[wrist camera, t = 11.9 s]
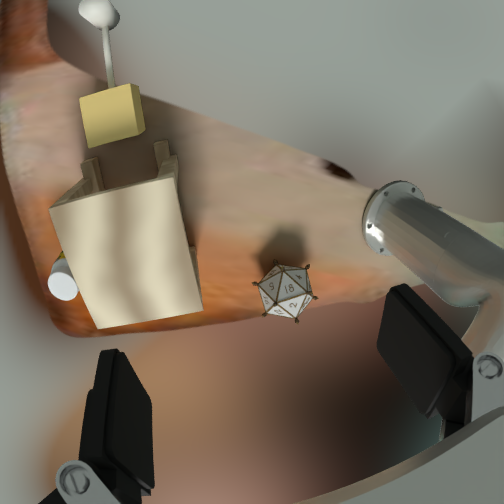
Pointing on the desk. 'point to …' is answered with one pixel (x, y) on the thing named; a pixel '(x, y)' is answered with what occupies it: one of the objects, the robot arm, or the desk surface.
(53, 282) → the supplement bottle
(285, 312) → the game die
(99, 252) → the birch shelf
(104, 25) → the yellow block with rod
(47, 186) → the desk surface
